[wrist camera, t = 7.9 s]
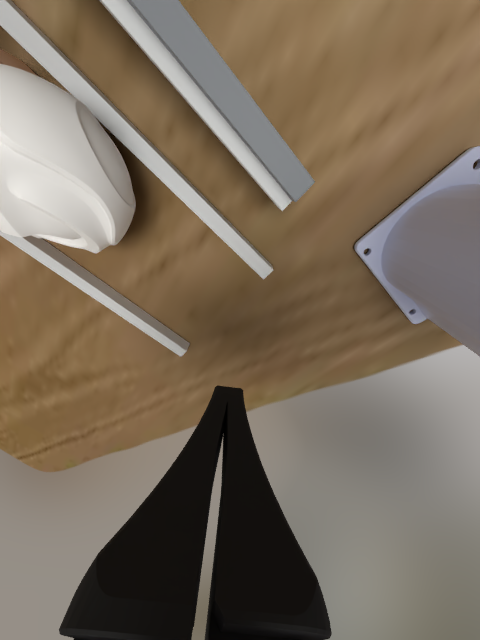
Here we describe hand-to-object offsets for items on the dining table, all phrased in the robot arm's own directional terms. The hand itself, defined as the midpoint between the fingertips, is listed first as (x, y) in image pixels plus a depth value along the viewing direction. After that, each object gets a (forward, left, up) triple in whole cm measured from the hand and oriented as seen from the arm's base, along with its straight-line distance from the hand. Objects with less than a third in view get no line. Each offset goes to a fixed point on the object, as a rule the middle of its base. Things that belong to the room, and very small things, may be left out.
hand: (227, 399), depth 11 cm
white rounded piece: (+14, -1, -10) cm, 17 cm away
